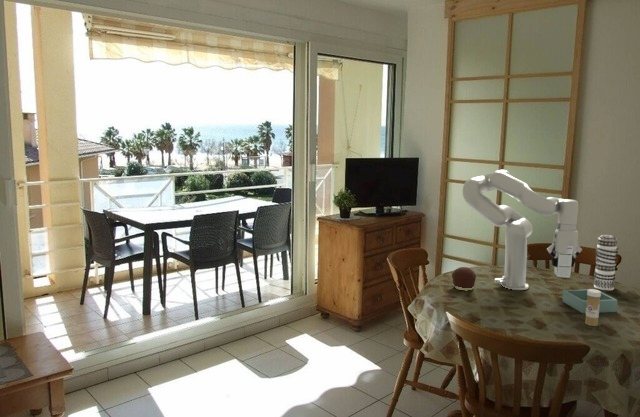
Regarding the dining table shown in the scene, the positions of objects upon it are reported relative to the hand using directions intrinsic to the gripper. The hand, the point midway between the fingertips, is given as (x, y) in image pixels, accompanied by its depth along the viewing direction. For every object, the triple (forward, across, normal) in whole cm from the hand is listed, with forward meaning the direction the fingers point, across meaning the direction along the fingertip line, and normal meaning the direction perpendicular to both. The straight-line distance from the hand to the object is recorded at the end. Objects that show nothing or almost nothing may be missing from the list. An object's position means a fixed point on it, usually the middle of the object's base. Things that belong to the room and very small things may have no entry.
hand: (562, 265), depth 225 cm
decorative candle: (+13, +26, +7) cm, 30 cm away
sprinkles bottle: (+13, -8, -36) cm, 39 cm away
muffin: (+15, -40, +13) cm, 45 cm away
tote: (+13, +3, -17) cm, 21 cm away
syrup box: (+5, 0, 0) cm, 5 cm away
